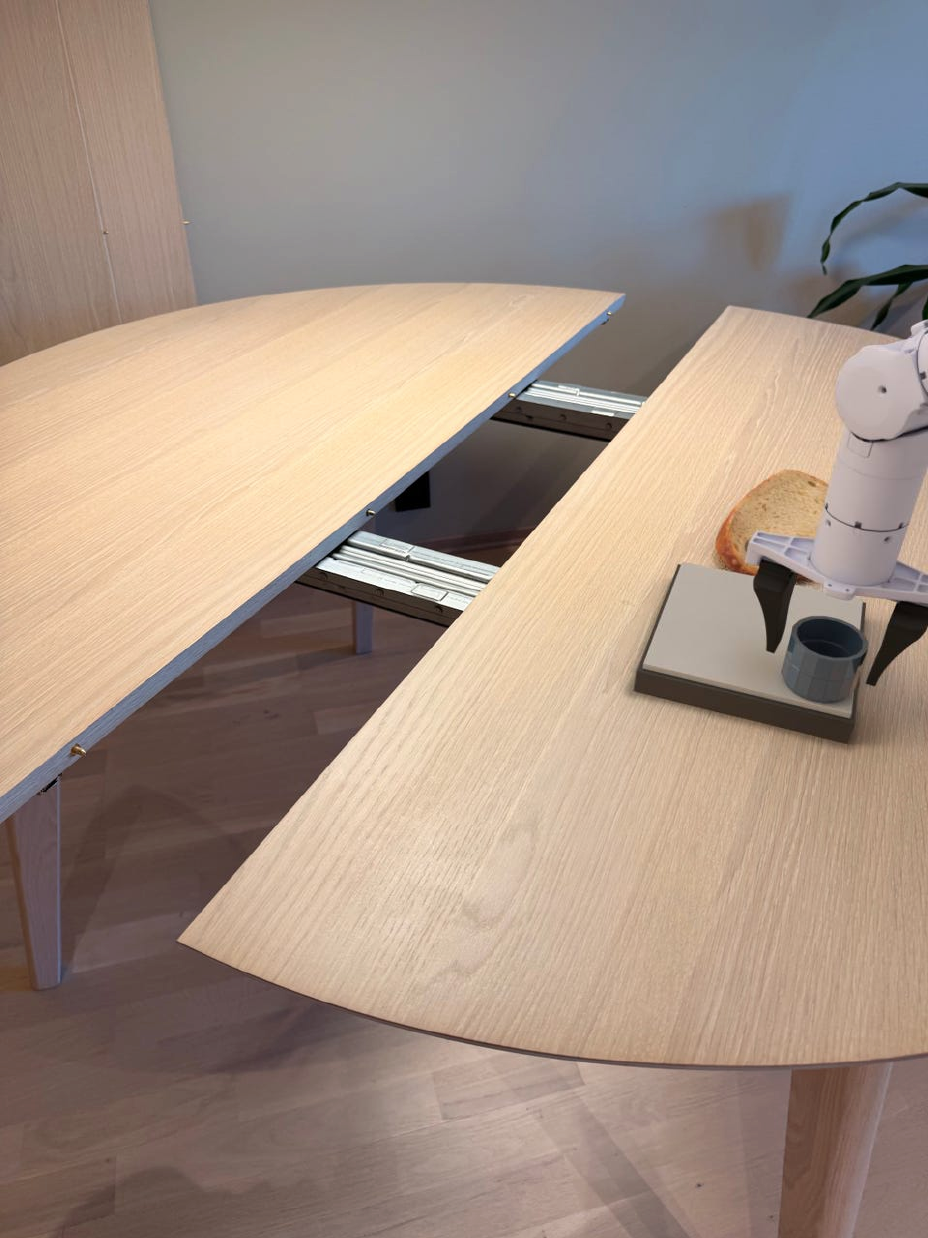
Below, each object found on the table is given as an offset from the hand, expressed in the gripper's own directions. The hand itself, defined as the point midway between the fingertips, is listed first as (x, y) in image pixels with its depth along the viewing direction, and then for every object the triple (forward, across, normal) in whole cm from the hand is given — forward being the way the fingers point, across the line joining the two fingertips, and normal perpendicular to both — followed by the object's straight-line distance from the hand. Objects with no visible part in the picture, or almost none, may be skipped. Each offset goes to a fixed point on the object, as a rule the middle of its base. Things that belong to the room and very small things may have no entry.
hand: (822, 661), depth 74 cm
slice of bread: (+5, -10, +26) cm, 28 cm away
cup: (+2, 0, 0) cm, 2 cm away
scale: (+5, -6, +4) cm, 9 cm away
